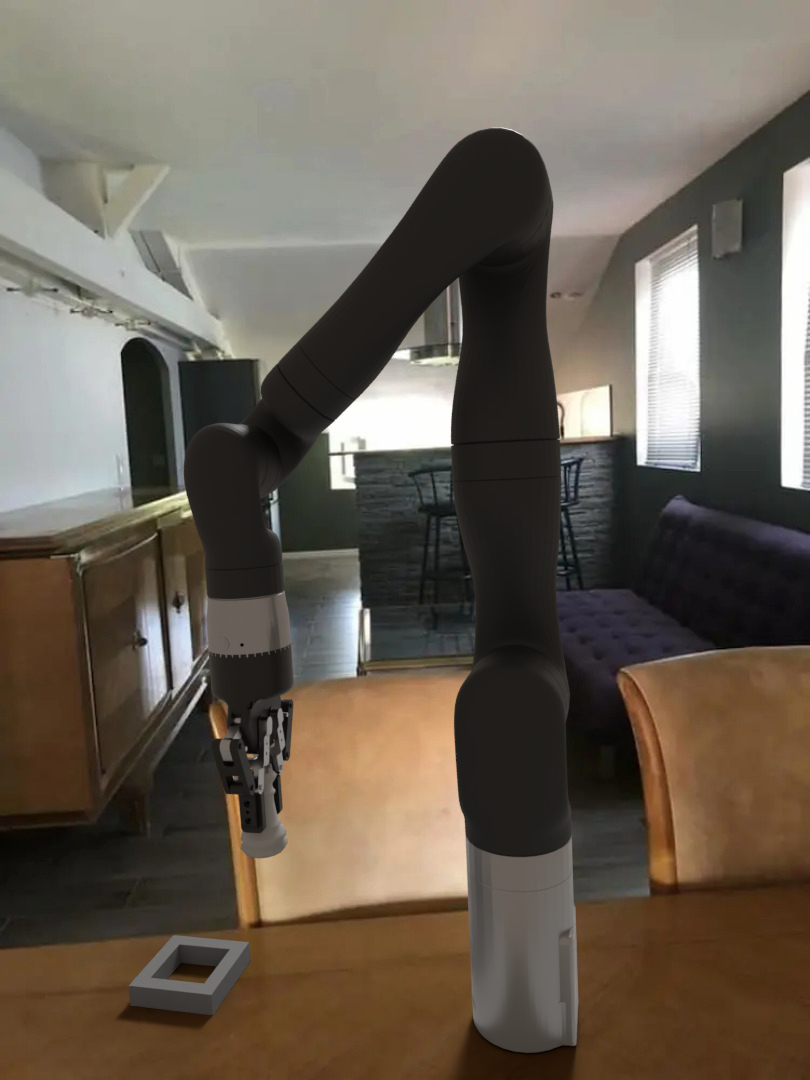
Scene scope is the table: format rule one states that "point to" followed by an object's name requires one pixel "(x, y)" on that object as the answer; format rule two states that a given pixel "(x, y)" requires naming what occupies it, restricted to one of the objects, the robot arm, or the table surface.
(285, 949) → the table surface
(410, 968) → the table surface
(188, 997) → the socket plinth
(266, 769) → the rook chess piece
